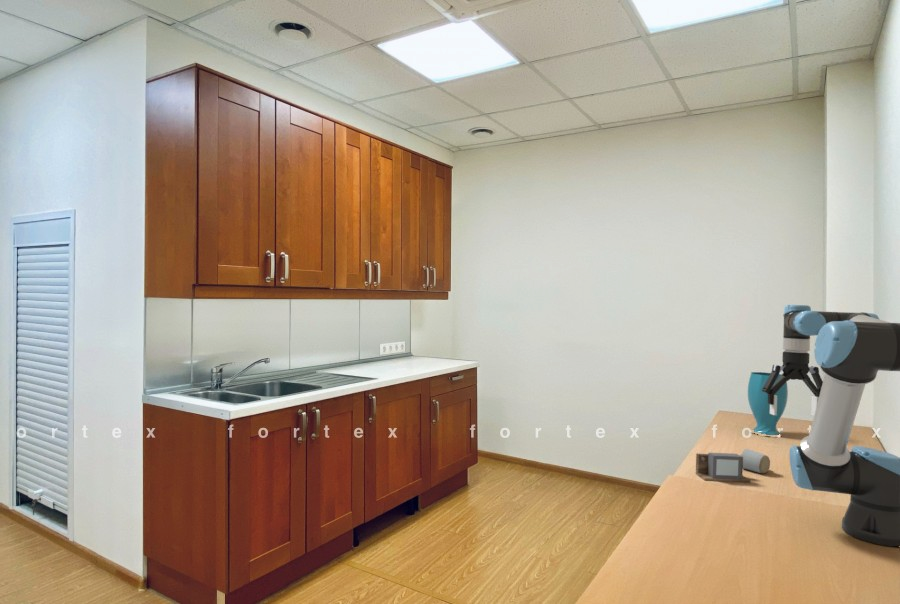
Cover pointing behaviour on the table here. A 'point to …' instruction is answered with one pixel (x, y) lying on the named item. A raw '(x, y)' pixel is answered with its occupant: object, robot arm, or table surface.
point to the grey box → (724, 465)
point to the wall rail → (703, 470)
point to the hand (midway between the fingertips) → (793, 415)
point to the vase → (765, 403)
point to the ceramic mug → (755, 461)
